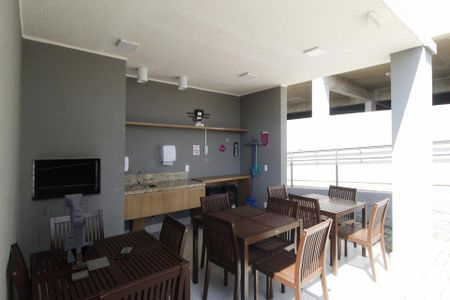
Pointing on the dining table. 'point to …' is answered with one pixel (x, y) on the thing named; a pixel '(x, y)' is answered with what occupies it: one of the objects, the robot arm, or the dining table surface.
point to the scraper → (79, 262)
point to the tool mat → (97, 263)
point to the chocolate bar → (124, 253)
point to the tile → (79, 275)
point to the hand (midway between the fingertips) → (79, 259)
